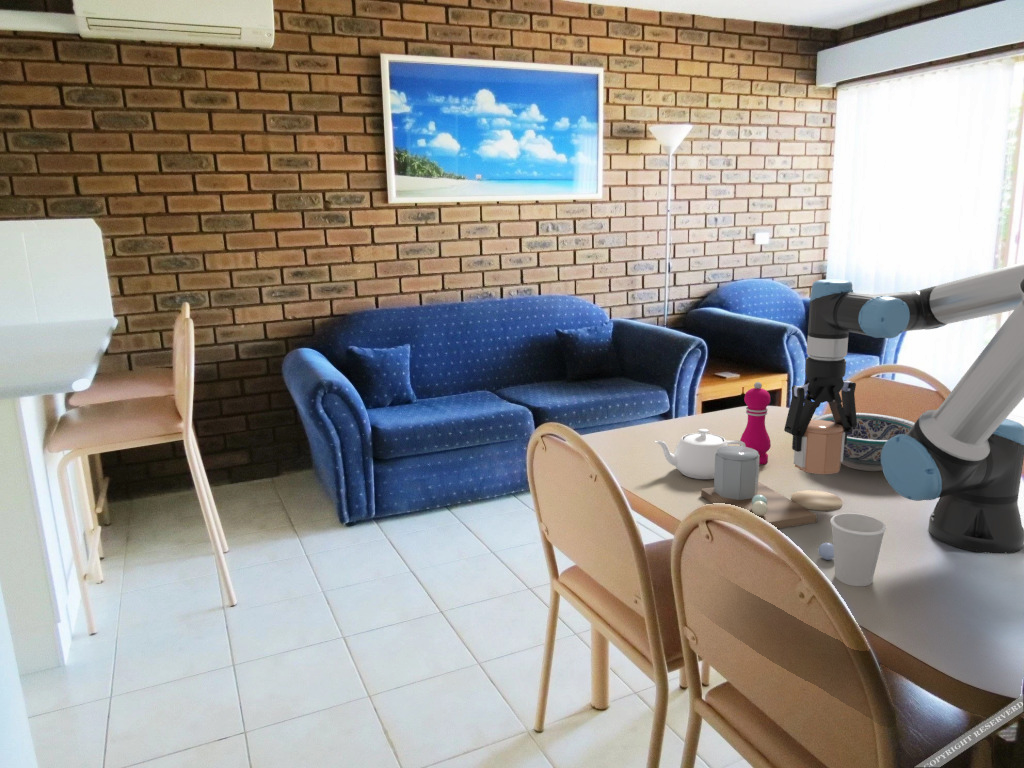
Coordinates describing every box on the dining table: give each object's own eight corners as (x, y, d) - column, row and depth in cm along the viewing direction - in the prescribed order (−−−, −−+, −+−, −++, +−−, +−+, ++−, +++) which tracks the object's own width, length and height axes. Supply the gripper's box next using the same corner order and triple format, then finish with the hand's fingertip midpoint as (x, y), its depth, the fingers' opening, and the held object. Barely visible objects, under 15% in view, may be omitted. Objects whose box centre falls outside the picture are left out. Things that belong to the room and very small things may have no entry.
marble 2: (773, 509, 144) (763, 499, 143) (763, 520, 143) (753, 510, 143) (765, 506, 147) (755, 496, 146) (755, 517, 146) (745, 507, 146)
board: (816, 522, 145) (816, 514, 145) (754, 532, 142) (754, 524, 141) (757, 487, 164) (757, 481, 164) (700, 495, 160) (701, 489, 160)
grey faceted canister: (764, 496, 155) (766, 455, 153) (729, 501, 153) (730, 460, 151) (741, 482, 163) (743, 444, 161) (707, 487, 161) (709, 448, 159)
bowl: (837, 484, 165) (840, 443, 163) (792, 449, 189) (794, 414, 187) (946, 480, 165) (951, 439, 163) (887, 446, 190) (890, 410, 188)
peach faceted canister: (848, 471, 151) (852, 429, 149) (813, 476, 149) (816, 433, 147) (821, 458, 159) (824, 418, 157) (787, 462, 157) (790, 422, 155)
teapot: (733, 461, 182) (735, 419, 179) (755, 480, 169) (758, 435, 166) (646, 466, 180) (646, 424, 178) (661, 486, 167) (662, 440, 165)
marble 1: (773, 504, 147) (765, 492, 147) (762, 513, 146) (754, 501, 146) (764, 502, 150) (756, 490, 150) (753, 511, 149) (746, 499, 149)
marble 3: (840, 553, 130) (829, 538, 131) (840, 554, 128) (830, 539, 129) (824, 562, 131) (814, 547, 132) (825, 563, 128) (814, 548, 129)
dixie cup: (848, 562, 129) (852, 508, 126) (892, 582, 121) (897, 525, 119) (815, 574, 125) (819, 519, 123) (858, 595, 118) (863, 537, 115)
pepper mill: (765, 456, 185) (769, 378, 180) (773, 465, 178) (777, 385, 173) (736, 456, 185) (739, 378, 181) (742, 465, 178) (745, 385, 174)
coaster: (852, 507, 152) (853, 504, 152) (811, 513, 149) (811, 510, 149) (820, 490, 161) (820, 487, 161) (781, 496, 159) (781, 493, 159)
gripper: (857, 349, 155) (848, 451, 160) (769, 357, 149) (763, 462, 155) (883, 356, 148) (873, 462, 153) (792, 364, 142) (785, 474, 147)
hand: (818, 462), depth 154 cm, fingers closed on peach faceted canister, 8 cm apart
